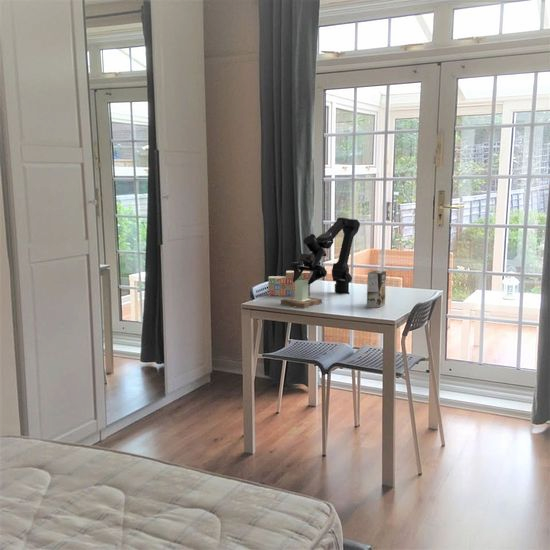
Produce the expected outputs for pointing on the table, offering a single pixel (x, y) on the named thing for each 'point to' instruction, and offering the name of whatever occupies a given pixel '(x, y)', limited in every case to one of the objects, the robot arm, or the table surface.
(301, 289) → the pillar block
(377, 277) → the coffee box
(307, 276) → the stack of blocks
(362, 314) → the table surface
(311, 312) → the table surface
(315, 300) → the base board
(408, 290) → the table surface
